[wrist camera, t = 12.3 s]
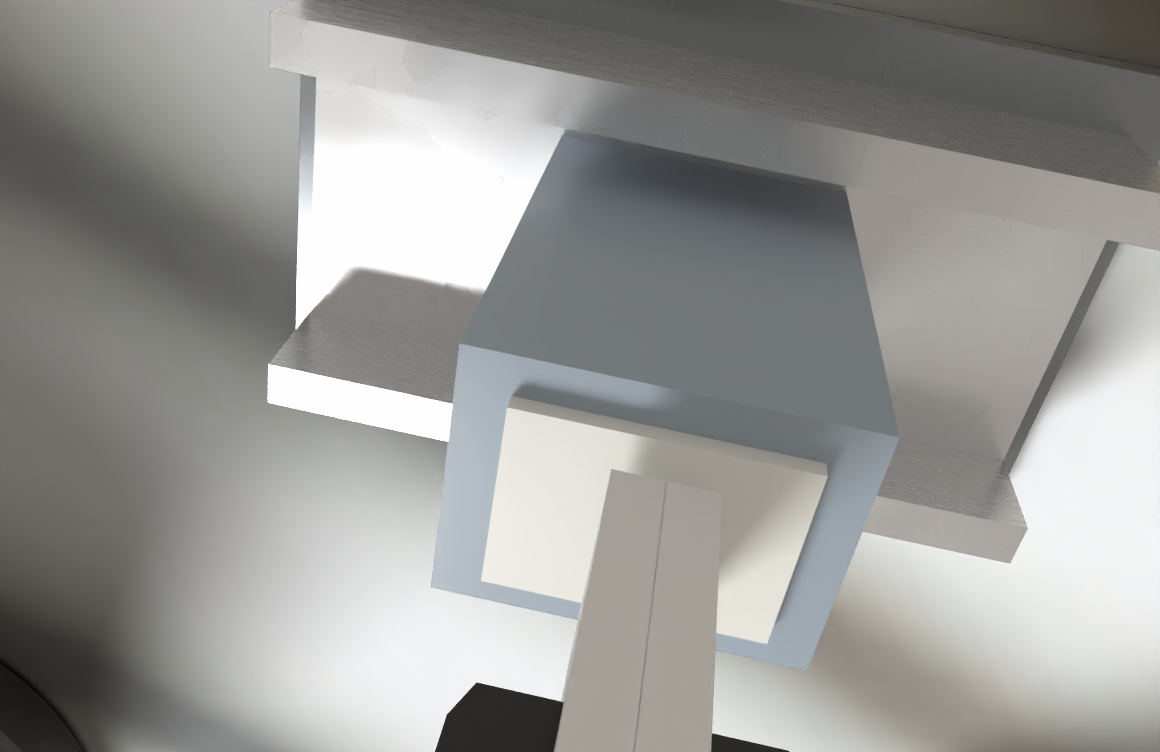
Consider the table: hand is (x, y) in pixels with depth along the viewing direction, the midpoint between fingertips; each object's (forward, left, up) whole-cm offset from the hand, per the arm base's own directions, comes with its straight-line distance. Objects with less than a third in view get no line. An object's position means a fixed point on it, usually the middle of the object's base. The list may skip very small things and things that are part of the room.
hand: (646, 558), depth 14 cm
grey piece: (0, 0, -12) cm, 12 cm away
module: (0, 0, -10) cm, 10 cm away
